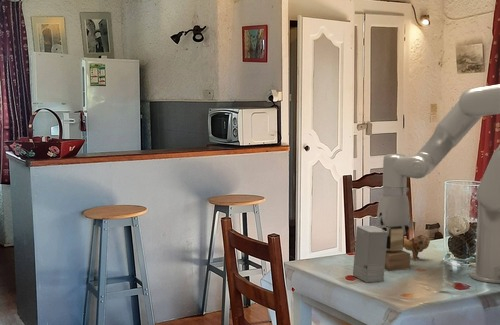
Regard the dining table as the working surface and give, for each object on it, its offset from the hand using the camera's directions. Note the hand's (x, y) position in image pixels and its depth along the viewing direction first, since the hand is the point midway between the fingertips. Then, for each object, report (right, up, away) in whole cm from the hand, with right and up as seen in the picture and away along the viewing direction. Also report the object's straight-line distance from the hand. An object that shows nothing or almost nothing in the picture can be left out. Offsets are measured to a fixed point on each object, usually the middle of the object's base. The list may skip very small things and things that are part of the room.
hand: (393, 246), depth 198 cm
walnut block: (0, -7, +1) cm, 7 cm away
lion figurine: (+9, -6, +12) cm, 16 cm away
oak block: (0, -1, 0) cm, 1 cm away
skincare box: (-10, -8, -13) cm, 19 cm away
